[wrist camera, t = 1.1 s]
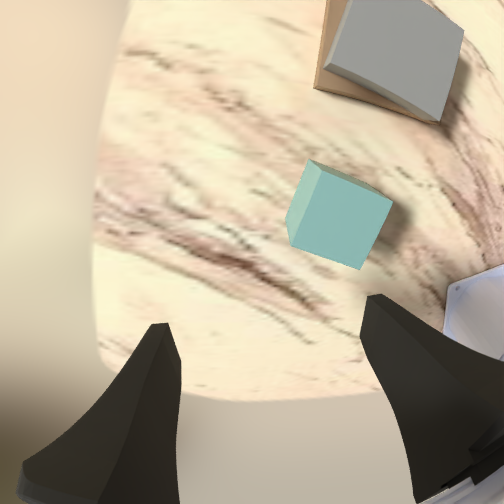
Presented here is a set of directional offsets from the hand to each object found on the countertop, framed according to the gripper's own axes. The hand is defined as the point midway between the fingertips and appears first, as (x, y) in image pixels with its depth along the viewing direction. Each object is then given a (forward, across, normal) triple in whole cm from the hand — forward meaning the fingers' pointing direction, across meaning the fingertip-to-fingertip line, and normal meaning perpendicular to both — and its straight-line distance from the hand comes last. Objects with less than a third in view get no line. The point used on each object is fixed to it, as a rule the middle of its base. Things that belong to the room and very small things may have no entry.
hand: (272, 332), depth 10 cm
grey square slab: (+10, -10, -12) cm, 18 cm away
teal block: (+11, -6, -1) cm, 13 cm away
